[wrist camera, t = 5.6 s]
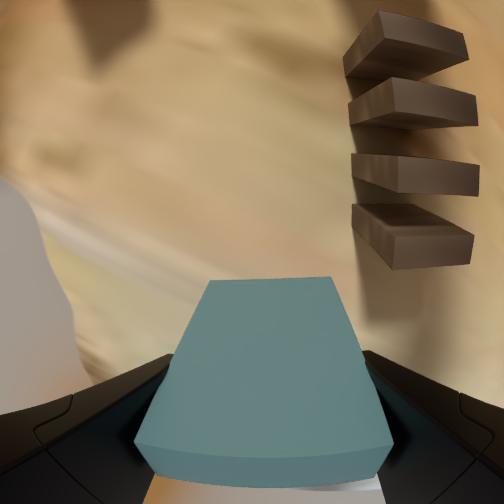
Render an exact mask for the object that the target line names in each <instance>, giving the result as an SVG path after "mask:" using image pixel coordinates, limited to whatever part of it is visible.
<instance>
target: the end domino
mask: <svg viewBox="0 0 504 504" xmlns="http://www.w3.org/2000/svg"><path fill="white" fill-rule="evenodd" d="M134 443H135V445H136V446H137V448H138V449H139V451H140V452H141V454H142V455H143V457H144V458H145V459H146V461H147V462H148V464H149V465H150V467H151V468H152V469H153V471H154V472H155V473H156V475H158V476H162V477H167V478H172V479H177V480H183V481H189V482H196V483H203V484H212V485H220V486H232V487H249V488H292V487H310V486H321V485H331V484H339V483H346V482H353V481H359V480H364V479H369V478H374V476H375V475H376V473H377V472H378V470H379V468H380V467H381V465H382V464H383V462H384V460H385V459H386V457H387V455H388V453H389V452H390V450H391V448H392V446H393V445H394V443H393V439H392V436H391V433H390V430H389V427H388V424H387V421H386V418H385V415H384V412H383V409H382V406H381V403H380V400H379V397H378V394H377V391H376V388H375V386H374V384H373V382H372V380H371V378H370V376H369V373H368V370H367V368H366V365H365V359H364V356H363V353H362V351H361V348H360V346H359V343H358V340H357V338H356V335H355V333H354V330H353V328H352V325H351V323H350V321H349V318H348V316H347V313H346V311H345V308H344V306H343V304H342V301H341V299H340V297H339V294H338V292H337V290H336V287H335V285H334V283H333V280H332V278H331V277H309V278H283V279H252V280H210V282H209V284H208V286H207V288H206V290H205V292H204V294H203V296H202V298H201V300H200V302H199V304H198V306H197V308H196V310H195V312H194V314H193V316H192V318H191V320H190V322H189V324H188V326H187V328H186V330H185V332H184V334H183V337H182V339H181V341H180V343H179V345H178V347H177V349H176V351H175V353H174V355H173V357H172V360H171V362H170V366H169V369H168V371H167V373H166V375H165V377H164V379H163V381H162V382H161V384H160V386H159V387H158V389H157V392H156V394H155V396H154V398H153V400H152V402H151V405H150V407H149V409H148V411H147V413H146V416H145V418H144V420H143V422H142V424H141V427H140V429H139V431H138V433H137V436H136V438H135V440H134Z"/></svg>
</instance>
